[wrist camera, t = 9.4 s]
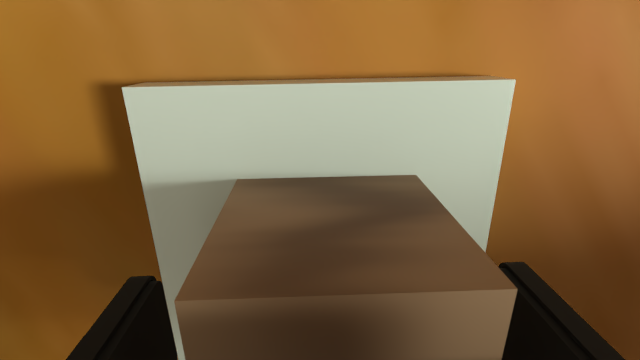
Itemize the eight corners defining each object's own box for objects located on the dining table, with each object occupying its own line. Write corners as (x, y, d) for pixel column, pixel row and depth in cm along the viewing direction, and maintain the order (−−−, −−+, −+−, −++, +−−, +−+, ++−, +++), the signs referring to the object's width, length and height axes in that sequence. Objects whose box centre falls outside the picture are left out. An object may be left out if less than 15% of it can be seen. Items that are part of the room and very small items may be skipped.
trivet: (490, 75, 12) (515, 79, 11) (450, 339, 17) (465, 368, 15) (144, 82, 12) (121, 87, 10) (194, 351, 16) (183, 381, 15)
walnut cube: (416, 174, 12) (517, 288, 6) (402, 316, 14) (469, 497, 8) (237, 178, 12) (174, 301, 6) (251, 322, 14) (214, 512, 8)
